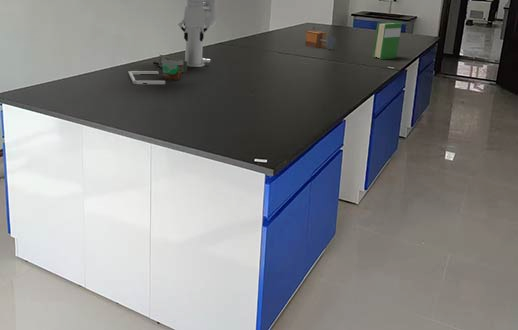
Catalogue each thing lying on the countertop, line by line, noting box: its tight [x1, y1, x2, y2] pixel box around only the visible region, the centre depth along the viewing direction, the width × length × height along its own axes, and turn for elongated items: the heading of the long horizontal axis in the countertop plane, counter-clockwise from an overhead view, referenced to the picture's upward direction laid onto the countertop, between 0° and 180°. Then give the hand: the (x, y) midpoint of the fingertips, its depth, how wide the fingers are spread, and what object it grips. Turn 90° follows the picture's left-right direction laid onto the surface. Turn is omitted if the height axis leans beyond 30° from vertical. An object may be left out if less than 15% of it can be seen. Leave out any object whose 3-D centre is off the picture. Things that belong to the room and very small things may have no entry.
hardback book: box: [371, 21, 403, 60], centre depth 395 cm, size 18×7×24 cm, turn 130°
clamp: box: [304, 26, 336, 50], centre depth 417 cm, size 11×20×14 cm, turn 46°
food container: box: [161, 57, 183, 81], centre depth 286 cm, size 12×6×10 cm, turn 62°
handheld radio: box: [152, 54, 188, 74], centre depth 311 cm, size 7×3×25 cm
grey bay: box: [128, 70, 166, 85], centre depth 284 cm, size 15×22×2 cm
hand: (193, 40), depth 285 cm, fingers open, 6 cm apart
